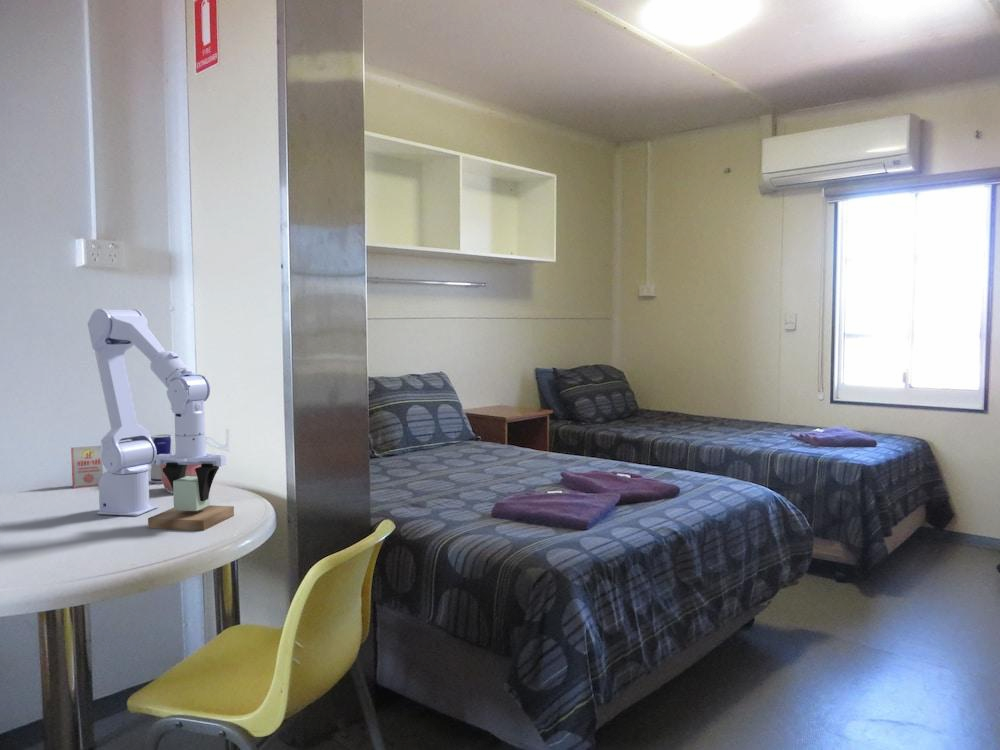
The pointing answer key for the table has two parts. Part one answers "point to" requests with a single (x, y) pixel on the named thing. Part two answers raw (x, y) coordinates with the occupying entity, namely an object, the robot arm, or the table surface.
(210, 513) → the walnut base
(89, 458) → the printed cream box
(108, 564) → the table surface
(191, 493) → the sage block
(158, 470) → the energy drink
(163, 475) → the container
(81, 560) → the table surface
